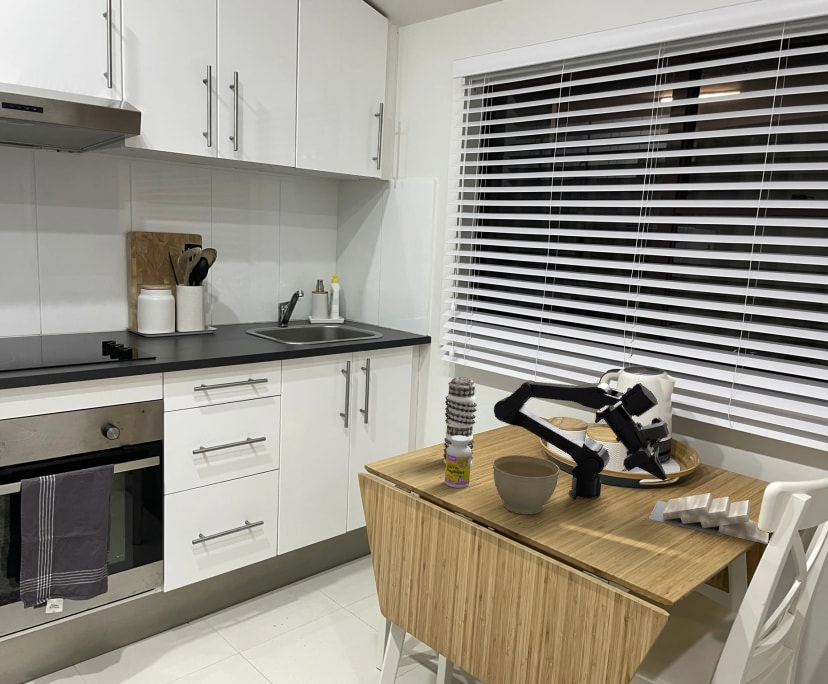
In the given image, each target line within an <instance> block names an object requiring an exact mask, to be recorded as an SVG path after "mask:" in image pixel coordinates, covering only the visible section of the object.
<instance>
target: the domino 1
mask: <svg viewBox="0 0 828 684" xmlns="http://www.w3.org/2000/svg"><path fill="white" fill-rule="evenodd" d="M713 499H714V498H713V497H712V494H711V492H708V493H703V494H702V493H701V494H696V495H689V496H683V497H678V498H671V499H668V500H667V502H666V503H667V505H666V507H665V509H664V511H663V513H662V514H663V517H664V520H668V519H674V518H681V517H688V516H695V515H701V514H708V513H709V509H710V506H711V503H712V500H713Z"/></svg>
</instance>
